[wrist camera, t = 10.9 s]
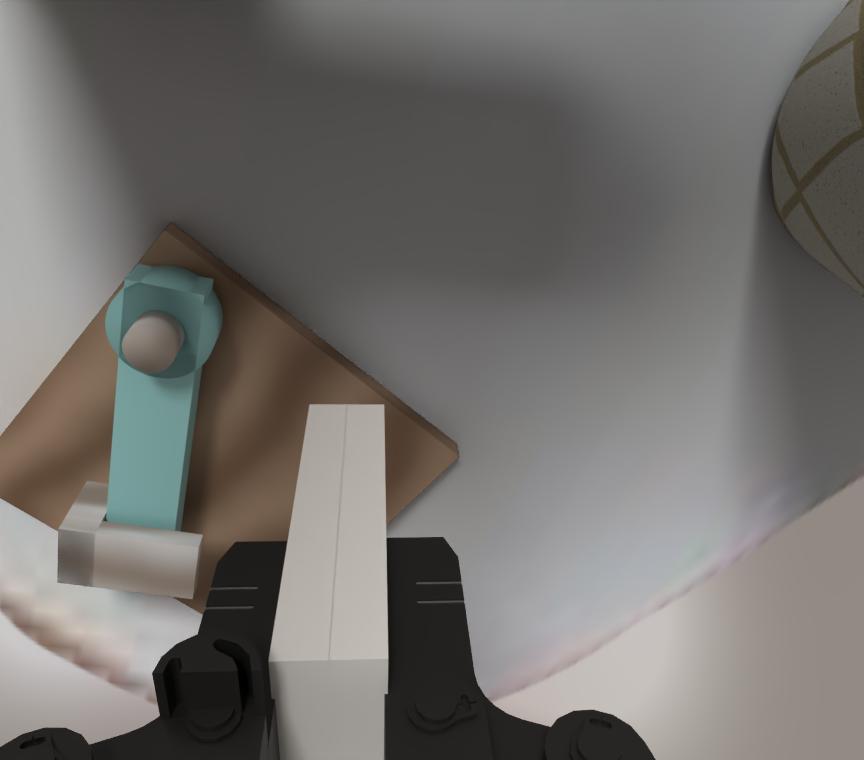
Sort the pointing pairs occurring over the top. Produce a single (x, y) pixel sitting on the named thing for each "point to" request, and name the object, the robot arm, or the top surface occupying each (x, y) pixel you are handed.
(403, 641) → the robot arm
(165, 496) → the latch bar
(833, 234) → the planter
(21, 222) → the top surface
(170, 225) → the pivot board
